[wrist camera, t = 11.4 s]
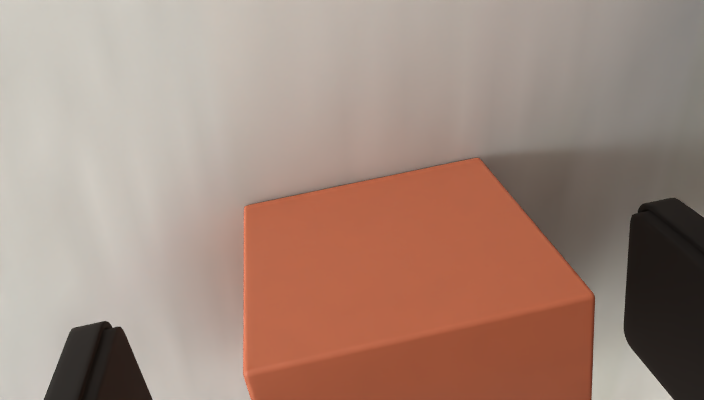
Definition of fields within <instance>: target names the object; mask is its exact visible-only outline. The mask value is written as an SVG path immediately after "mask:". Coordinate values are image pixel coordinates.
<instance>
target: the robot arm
mask: <svg viewBox="0 0 704 400" xmlns="http://www.w3.org/2000/svg"><path fill="white" fill-rule="evenodd" d="M624 334H625V337H626V340H627V342H628V344H629V346H630V347H631V348H632V350H633V351H634V352H635V353H636V354H637V356H638V357H639V358H640V359H641V360H642V362H643V363H644V364H645V365H646V367H647V368H648V369H649V370H650V371H651V373H652V374H653V375H654V376H655V377H656V379H657V380H658V381H659V382H660V383H661V385H662V386H663V387H664V388H665V389H666V391H667V392H668V393H669V394H670V395H671V397H672V398H673V399H674V400H704V218H703V217H702V216H700V215H699V214H698V213H696V212H695V211H694V210H692V209H691V208H690V207H688V206H687V205H685V204H684V203H683V202H681V201H680V200H678V199H676V198H668V199H663V200H659V201H654V202H649V203H645V204H642V205H641V206H640V207H639V209H638V213H636V214H634V215H632V217H631V220H630V233H629V249H628V265H627V281H626V296H625V312H624ZM44 400H152V397H151V395H150V393H149V390H148V388H147V385H146V383H145V381H144V378H143V376H142V373H141V371H140V369H139V366H138V364H137V361H136V359H135V357H134V354H133V352H132V349H131V347H130V345H129V342H128V340H127V337H126V335H125V333H124V331H123V329H122V328H121V327H115V328H112V326H111V324H110V323H109V322H107V321H103V322H99V323H94V324H90V325H85V326H80V327H76V328H73V329H72V330H71V331H70V333H69V336H68V338H67V341H66V343H65V346H64V348H63V351H62V354H61V356H60V359H59V361H58V364H57V367H56V369H55V372H54V374H53V377H52V380H51V382H50V385H49V387H48V390H47V393H46V395H45V398H44Z"/></svg>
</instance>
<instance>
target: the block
mask: <svg viewBox="0 0 704 400" xmlns="http://www.w3.org/2000/svg"><path fill="white" fill-rule="evenodd" d="M594 311H595V296H594V294H593V292H592V291H591V290H590V289H589V287H588V286H587V285H586V284H585V283H584V281H583V280H582V279H581V278H580V277H579V276H578V274H577V273H576V272H575V271H574V270H573V268H572V267H571V266H570V265H569V264H568V262H567V261H566V260H565V259H564V258H563V257H562V255H561V254H560V253H559V252H558V251H557V249H556V248H555V247H554V246H553V245H552V243H551V242H550V241H549V240H548V239H547V238H546V236H545V235H544V234H543V233H542V232H541V230H540V229H539V228H538V227H537V226H536V224H535V223H534V222H533V221H532V220H531V219H530V217H529V216H528V215H527V214H526V213H525V211H524V210H523V209H522V208H521V207H520V205H519V204H518V203H517V202H516V201H515V200H514V198H513V197H512V196H511V195H510V194H509V192H508V191H507V190H506V189H505V188H504V186H503V185H502V184H501V183H500V182H499V181H498V179H497V178H496V177H495V176H494V175H493V173H492V172H491V171H490V170H489V169H488V167H487V166H486V165H485V164H484V163H483V162H482V160H481V159H480V158H472V159H468V160H463V161H458V162H453V163H448V164H444V165H439V166H434V167H429V168H424V169H420V170H415V171H410V172H405V173H400V174H395V175H391V176H386V177H381V178H376V179H371V180H367V181H362V182H357V183H352V184H347V185H343V186H338V187H333V188H328V189H323V190H318V191H314V192H309V193H304V194H299V195H294V196H290V197H285V198H280V199H275V200H270V201H266V202H261V203H256V204H251V205H247V206H245V207H244V334H243V375H244V378H245V381H246V385H247V388H248V391H249V394H250V397H251V400H591V396H592V368H593V340H594Z"/></svg>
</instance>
